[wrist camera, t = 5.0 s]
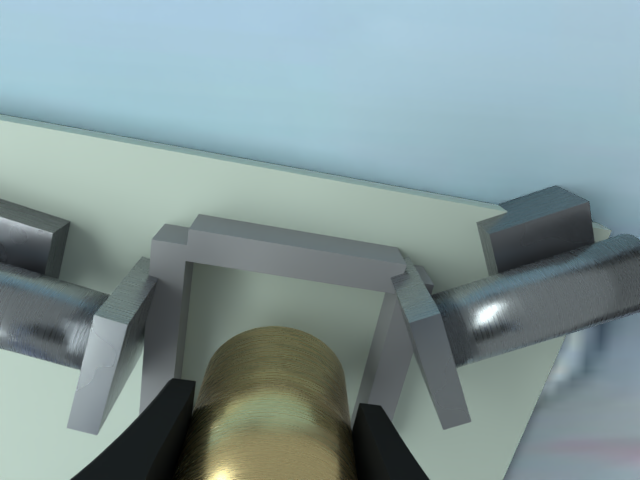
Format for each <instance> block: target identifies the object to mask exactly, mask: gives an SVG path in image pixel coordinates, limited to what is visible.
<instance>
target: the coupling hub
mask: <svg viewBox="0 0 640 480" xmlns="http://www.w3.org/2000/svg"><path fill="white" fill-rule="evenodd" d="M172 480H358V479H357V471H356V462H355V454H354V446H353V438H352V430H351V422H350V413H349V405H348V397H347V389H346V381H345V375H344V370H343V368H342V365H341V363H340V361H339V359H338V357H337V356H336V355H335V353H334V352H333V351H332V350H331V349H330V348H329V347H328V346H327V345H326V344H325V343H324V342H322V341H321V340H320V339H318V338H316V337H314V336H313V335H311V334H309V333H306V332H304V331H301V330H297V329H294V328H288V327H280V326H268V327H260V328H254V329H251V330H247V331H244V332H242V333H240V334H238V335H236V336H234V337H232V338H231V339H229V340H228V341H226V342H225V343H224V344H222V345H221V346H220V347H219V348H218V350H217V351H216V352H215V353H214V355H213V356H212V357H211V359H210V361H209V363H208V366H207V369H206V372H205V375H204V378H203V382H202V385H201V388H200V391H199V395H198V398H197V401H196V404H195V407H194V411H193V414H192V417H191V420H190V424H189V427H188V430H187V433H186V437H185V440H184V443H183V446H182V450H181V453H180V456H179V459H178V463H177V466H176V469H175V472H174V475H173V479H172Z"/></svg>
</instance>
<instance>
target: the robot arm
mask: <svg viewBox="0 0 640 480" xmlns="http://www.w3.org/2000/svg"><path fill="white" fill-rule="evenodd" d="M195 386H196V381H192V380H184V379H176V378H172V379H171V380H169V381H168V382H167V383H166V385H165V386H164V387H163V389H162V390H161V391H160V392H159V394H158V395H157V396H156V397H155V398H154V400H153V401H152V402H151V403H150V404H149V405H148V406H147V407H146V409H145V410H144V411H143V412H142V413H141V414H140V415H139V416H138V417H137V418H136V419H135V420H134V421H133V422H132V423H131V425H130V426H129V427H128V428H127V429H126V430H125V431H124V432H123V433H122V434H121V435H120V436H119V437H118V438H117V439H116V440H114V441H113V442H112V443H111V444H110V445H109V446H108V447H107V448H106V449H105V450H104V451H103V452H102V453H101V454H99V455H98V456H97V457H96V458H95V459H94V460H93V461H92V462H90V463H89V464H88V465H87V466H86V467H85V468H83V469H82V470H81V471H80V472H79V473H77V474H76V475H75V476H74V477H72V478H71V479H70V480H172V479H173V475H174V472H175V469H176V466H177V463H178V459H179V456H180V453H181V450H182V446H183V443H184V440H185V437H186V433H187V430H188V427H189V424H190V420H191V417H192V411H193V402H194V394H195ZM352 438H353V446H354V454H355V462H356V471H357V479H358V480H430V479H429V478H428V476H427V475H426V474H425V472H424V471H423V469H422V468H421V466H420V465H419V464H418V462H417V461H416V459H415V458H414V456H413V455H412V453H411V452H410V450H409V449H408V447H407V446H406V444H405V443H404V441H403V439H402V438H401V436H400V435H399V433H398V432H397V430H396V428H395V427H394V425H393V424H392V422H391V420H390V419H389V417H388V415H387V414H386V412H385V411H384V409H383V408H382V406H381V405H373V404H366V403H359V407H358V410H357V414H356V418H355V421H354V425H353V429H352Z"/></svg>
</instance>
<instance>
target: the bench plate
mask: <svg viewBox="0 0 640 480" xmlns="http://www.w3.org/2000/svg"><path fill="white" fill-rule="evenodd" d="M0 199H3V200H6V201H10V202H13V203H16V204H19V205H22V206H25V207H28V208H31V209H34V210H38V211H41V212H44V213H47V214H50V215H53V216H56V217H59V218H62V219H66V220H69V221H71V222H70V226H69V231H68V236H67V241H66V246H65V250H64V255H63V260H62V265H61V270H60V274H59V279H60V280H63V281H66V282H70V283H73V284H76V285H80V286H83V287H86V288H90V289H93V290H96V291H100V292H103V293H106V294H110V295H111V294H112V292H113V291H114V290H115V289H116V288H117V286H118V285H119V284H120V283H121V282H122V280H123V279H124V278H125V277H126V275H127V274H128V273H129V272H130V271H131V269H132V268H133V267H134V266H135V264H136V263H137V262H138V261H139V260H140V258H141V257H142V256H143V257H146V258H149V259H150V267H149V275H150V276H153V277H157V278H158V281H157V285H156V288H155V292H154V295H153V299H152V302H151V306H150V309H149V313H148V316H147V320H146V324H145V338H144V347H143V350H142V353H141V356H140V358H139V360H138V362H137V364H136V366H135V367H134V369H133V371H132V373H131V375H130V377H129V378H128V380H127V382H126V384H125V386H124V388H123V389H122V391H121V393H120V395H119V397H118V399H117V400H116V402H115V404H114V406H113V408H112V410H111V411H110V413H109V415H108V417H107V419H106V421H105V422H104V424H103V426H102V428H101V430H100V432H99V433H98V435H93V434H89V433H85V432H81V431H77V430H73V429H69V428H67V424H68V420H69V416H70V412H71V408H72V403H73V399H74V395H75V391H76V387H77V383H78V379H79V375H80V371H81V370H77V369H73V368H70V367H66V366H62V365H59V364H55V363H51V362H48V361H44V360H40V359H37V358H33V357H29V356H25V355H22V354H18V353H14V352H11V351H7V350H3V349H0V480H70V479H71V478H72V477H74V476H75V475H76V474H77V473H79V472H80V471H81V470H82V469H83V468H85V467H86V466H87V465H88V464H89V463H90V462H92V461H93V460H94V459H95V458H96V457H97V456H98V455H99V454H101V453H102V452H103V451H104V450H105V449H106V448H107V447H108V446H109V445H110V444H111V443H112V442H113V441H114V440H116V439H117V438H118V437H119V436H120V435H121V434H122V433H123V432H124V431H125V430H126V429H127V428H128V427H129V426H130V425H131V423H132V422H133V421H134V420H135V419H136V418H137V417H138V416H139V415H140V414H141V413H142V412H143V411H144V410H145V409H146V407H147V406H148V405H149V404H150V403H151V402H152V401H153V400H154V398H155V397H156V396H157V395H158V394H159V392H160V391H161V390H162V389H163V387H164V386H165V385H166V383H167V382H168V381H169V380H171V379H172V378H176V379H184V380H192V381H196V386H195V394H194V402H193V411H194V407H195V404H196V401H197V398H198V395H199V391H200V388H201V385H202V382H203V378H204V375H205V372H206V369H207V366H208V363H209V361H210V359H211V357H212V356H213V355H214V353H215V352H216V351H217V350H218V348H219V347H220V346H221V345H222V344H224V343H225V342H226V341H228V340H229V339H231V338H232V337H234V336H236V335H238V334H240V333H242V332H244V331H247V330H251V329H254V328H260V327H268V326H280V327H288V328H294V329H297V330H301V331H304V332H306V333H309V334H311V335H313V336H314V337H316V338H318V339H320V340H321V341H322V342H324V343H325V344H326V345H327V346H328V347H329V348H330V349H331V350H332V351H333V352H334V353H335V355H336V356H337V357H338V359H339V361H340V363H341V365H342V368H343V370H344V375H345V381H346V389H347V397H348V405H349V413H350V422H351V430H352V429H353V425H354V421H355V418H356V414H357V410H358V407H359V403H366V404H373V405H381V406H382V408H383V409H384V411H385V412H386V414H387V415H388V417H389V419H390V420H391V422H392V424H393V425H394V427H395V428H396V430H397V432H398V433H399V435H400V436H401V438H402V439H403V441H404V443H405V444H406V446H407V447H408V449H409V450H410V452H411V453H412V455H413V456H414V458H415V459H416V461H417V462H418V464H419V465H420V466H421V468H422V469H423V471H424V472H425V474H426V475H427V476H428V478H429V479H430V480H503V478H504V476H505V474H506V472H507V469H508V467H509V465H510V462H511V460H512V458H513V456H514V453H515V451H516V449H517V446H518V444H519V442H520V440H521V437H522V435H523V433H524V430H525V428H526V426H527V424H528V421H529V419H530V417H531V414H532V412H533V410H534V408H535V405H536V403H537V401H538V398H539V396H540V394H541V391H542V389H543V387H544V385H545V382H546V380H547V378H548V375H549V373H550V371H551V369H552V366H553V364H554V362H555V359H556V357H557V355H558V353H559V350H560V348H561V346H562V343H563V341H564V339H565V337H566V335H564V336H560V337H557V338H554V339H551V340H547V341H544V342H541V343H537V344H534V345H531V346H528V347H524V348H521V349H518V350H514V351H511V352H508V353H505V354H501V355H498V356H495V357H492V358H488V359H485V360H482V361H478V362H475V363H472V364H469V365H465V366H462V367H459V368H456V369H457V373H458V376H459V380H460V383H461V387H462V390H463V394H464V397H465V401H466V404H467V408H468V411H469V415H470V418H471V422H469V423H466V424H463V425H459V426H456V427H452V428H449V429H446V430H443V428H442V426H441V423H440V421H439V418H438V415H437V413H436V410H435V408H434V405H433V402H432V400H431V397H430V395H429V392H428V390H427V387H426V384H425V382H424V379H423V377H422V374H421V371H420V369H419V366H418V364H417V361H416V359H415V356H414V353H413V352H414V350H413V347H412V344H411V340H410V337H409V334H408V331H407V328H406V325H405V322H404V319H403V316H402V312H401V309H400V306H399V303H398V300H397V297H396V295H395V291H394V288H393V285H392V281H391V277H394V276H397V275H400V274H403V273H404V272H405V269H406V263H405V261H404V259H403V258H405V257H408V256H409V258H410V259H411V261H412V263H413V265H414V267H415V268H416V270H417V272H418V274H419V276H420V277H421V279H422V281H423V283H424V285H425V286H426V288H427V290H428V292H429V294H430V295H433V294H436V293H439V292H442V291H445V290H449V289H452V288H455V287H458V286H461V285H464V284H467V283H470V282H474V281H477V280H480V279H483V278H486V277H489V274H488V270H487V266H486V262H485V257H484V253H483V249H482V244H481V240H480V236H479V232H478V227H477V223H476V222H479V221H482V220H485V219H488V218H491V217H494V216H497V215H500V214H503V213H506V212H507V211H506V210H505V209H503V208H502V207H500V206H499V205H497V204H491V203H486V202H480V201H475V200H469V199H464V198H458V197H453V196H447V195H442V194H436V193H431V192H425V191H420V190H414V189H409V188H403V187H398V186H392V185H387V184H381V183H376V182H370V181H365V180H359V179H354V178H348V177H343V176H337V175H332V174H326V173H321V172H315V171H310V170H304V169H299V168H293V167H288V166H282V165H277V164H271V163H266V162H260V161H255V160H249V159H244V158H238V157H233V156H227V155H222V154H217V153H211V152H206V151H200V150H195V149H189V148H184V147H178V146H173V145H167V144H162V143H156V142H151V141H145V140H140V139H134V138H129V137H123V136H118V135H112V134H107V133H101V132H96V131H90V130H85V129H79V128H74V127H68V126H63V125H57V124H52V123H46V122H41V121H35V120H30V119H24V118H19V117H13V116H8V115H2V114H0ZM592 226H593V234H594V241H595V243H596V242H599V241H602V240H605V239H608V238H609V236H610V234H611V230H610V229H608V228H606V227H604V226H602V225H600V224H598V223H595V222H592ZM193 411H192V414H193Z"/></svg>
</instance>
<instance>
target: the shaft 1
mask: <svg viewBox="0 0 640 480" xmlns="http://www.w3.org/2000/svg"><path fill="white" fill-rule="evenodd" d="M70 222H71V221H69V220H66V219H62V218H59V217H56V216H53V215H50V214H47V213H44V212H41V211H38V210H34V209H31V208H28V207H25V206H22V205H19V204H16V203H13V202H10V201H6V200H3V199H0V349H3V350H7V351H11V352H14V353H18V354H22V355H25V356H29V357H33V358H37V359H40V360H44V361H48V362H51V363H55V364H59V365H62V366H66V367H70V368H73V369H77V370H81V371H80V375H79V379H78V383H77V387H76V391H75V395H74V399H73V403H72V408H71V412H70V416H69V420H68V424H67V428H69V429H73V430H77V431H81V432H85V433H89V434H93V435H98V433H99V432H100V430H101V428H102V426H103V424H104V422H105V421H106V419H107V417H108V415H109V413H110V411H111V410H112V408H113V406H114V404H115V402H116V400H117V399H118V397H119V395H120V393H121V391H122V389H123V388H124V386H125V384H126V382H127V380H128V378H129V377H130V375H131V373H132V371H133V369H134V367H135V366H136V364H137V362H138V360H139V358H140V356H141V353H142V350H143V347H144V338H145V324H146V320H147V316H148V313H149V309H150V306H151V302H152V299H153V295H154V292H155V288H156V285H157V281H158V278H157V277H153V276H150V275H149V267H150V259H149V258H146V257H143V256H142V257H141V258H140V260H139V261H138V262H137V263H136V264H135V266H134V267H133V268H132V269H131V271H130V272H129V273H128V274H127V275H126V277H125V278H124V279H123V280H122V282H121V283H120V284H119V285H118V286H117V288H116V289H115V290H114V291H113V292H112V294H111V295H110V294H106V293H103V292H100V291H96V290H93V289H90V288H86V287H83V286H80V285H76V284H73V283H70V282H66V281H63V280H60V279H59V274H60V270H61V265H62V260H63V255H64V250H65V246H66V241H67V236H68V231H69V226H70Z"/></svg>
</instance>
